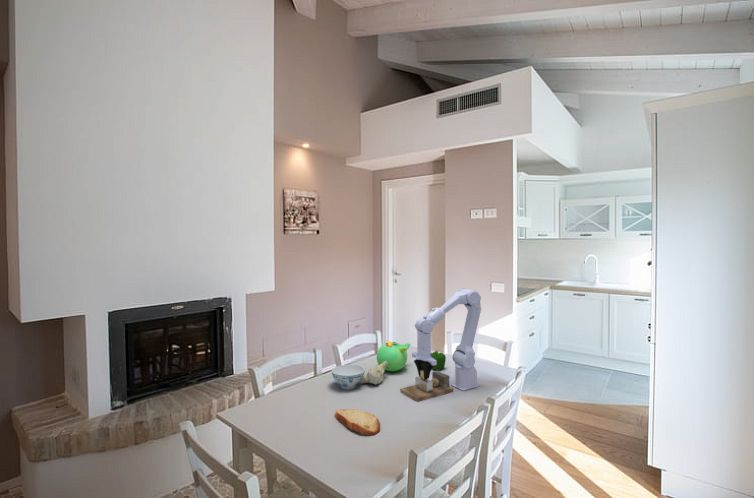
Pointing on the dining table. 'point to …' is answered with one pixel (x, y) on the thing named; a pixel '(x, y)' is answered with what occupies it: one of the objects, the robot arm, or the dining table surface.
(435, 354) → the bell pepper
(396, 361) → the toy bird
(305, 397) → the dining table surface
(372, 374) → the ginger root
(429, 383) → the jaw
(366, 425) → the bread slice
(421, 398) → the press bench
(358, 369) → the chinaware
